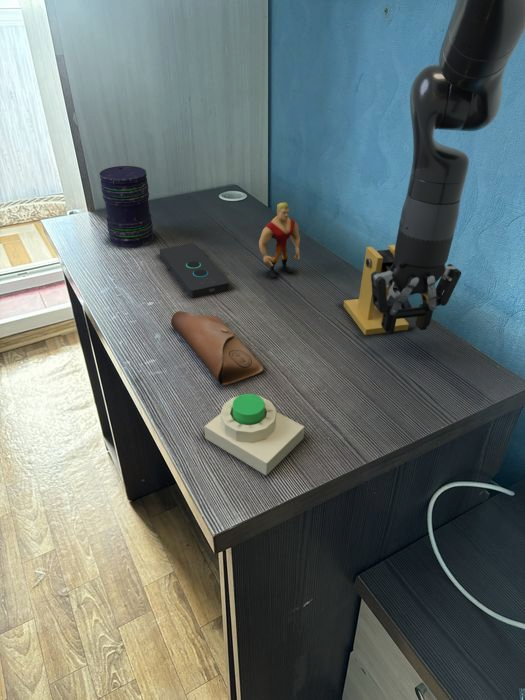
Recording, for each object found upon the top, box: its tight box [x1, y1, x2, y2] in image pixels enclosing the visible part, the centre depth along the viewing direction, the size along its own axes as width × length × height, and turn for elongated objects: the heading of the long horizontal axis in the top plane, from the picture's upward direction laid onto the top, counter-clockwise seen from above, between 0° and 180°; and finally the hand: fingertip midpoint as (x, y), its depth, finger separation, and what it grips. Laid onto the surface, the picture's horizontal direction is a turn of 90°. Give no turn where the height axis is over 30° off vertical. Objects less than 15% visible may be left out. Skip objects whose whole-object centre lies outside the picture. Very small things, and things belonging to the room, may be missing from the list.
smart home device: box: [159, 242, 230, 299], centre depth 105 cm, size 8×2×20 cm
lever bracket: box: [343, 244, 410, 336], centre depth 89 cm, size 10×8×13 cm
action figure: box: [258, 201, 301, 279], centre depth 101 cm, size 10×4×15 cm, turn 123°
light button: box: [233, 393, 265, 425], centre depth 65 cm, size 4×4×2 cm
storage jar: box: [99, 165, 154, 249], centre depth 113 cm, size 10×10×15 cm
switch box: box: [204, 395, 305, 476], centre depth 66 cm, size 10×8×4 cm
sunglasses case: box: [170, 310, 265, 387], centre depth 82 cm, size 18×7×7 cm, turn 31°
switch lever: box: [376, 249, 426, 319], centre depth 83 cm, size 13×5×2 cm, turn 14°
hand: (404, 329), depth 82 cm, fingers closed on switch lever, 5 cm apart
